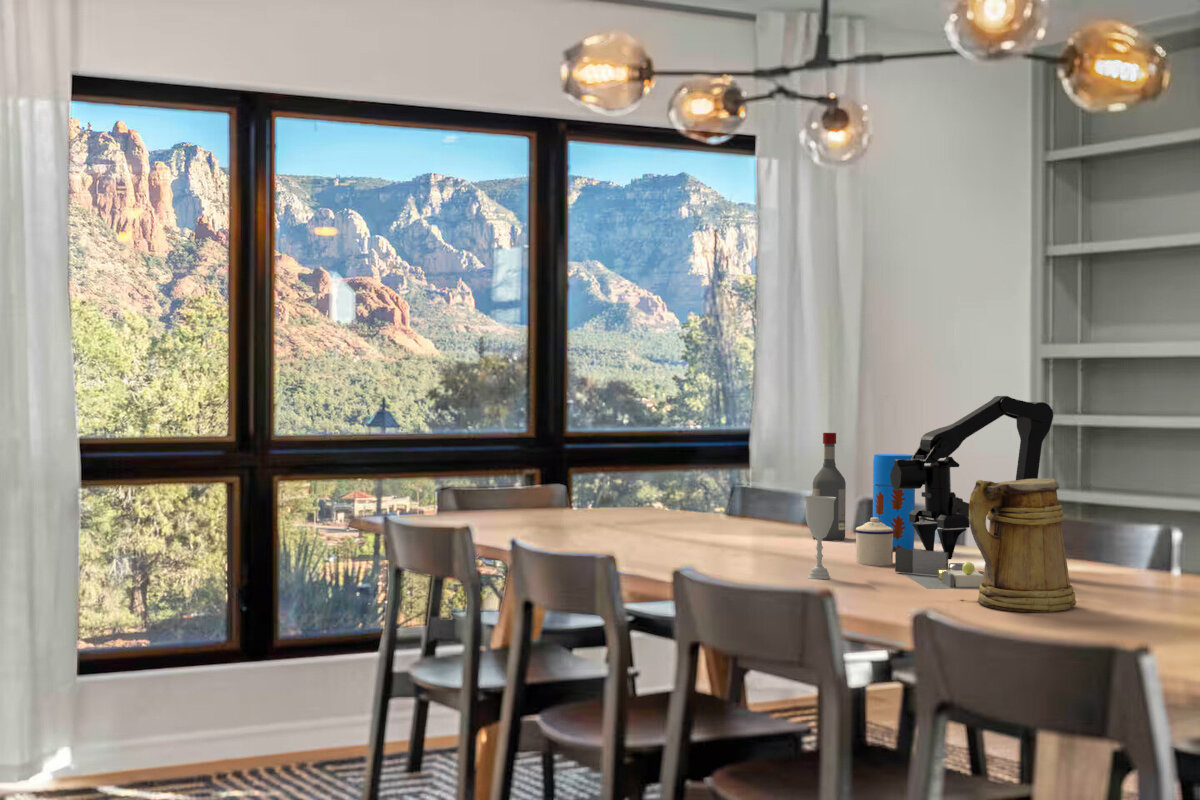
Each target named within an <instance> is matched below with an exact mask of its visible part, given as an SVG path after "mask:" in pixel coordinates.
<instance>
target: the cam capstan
mask: <svg viewBox="0 0 1200 800" xmlns="http://www.w3.org/2000/svg"><path fill="white" fill-rule="evenodd" d="M894 552H895V554H894V555H895V556H894V558H895V560H894V561H895V562H894V570H895V571H894V572H895V573H900V572H904V573H916V574H927V575H938V579H939V580H942V571H946V570H962V566H963V564H964V562H963V563H962V562H951V563H949V559H948V552H944V551H938V550H934V551H927V550H926V549H903V548H897V549H895V551H894Z"/></svg>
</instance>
